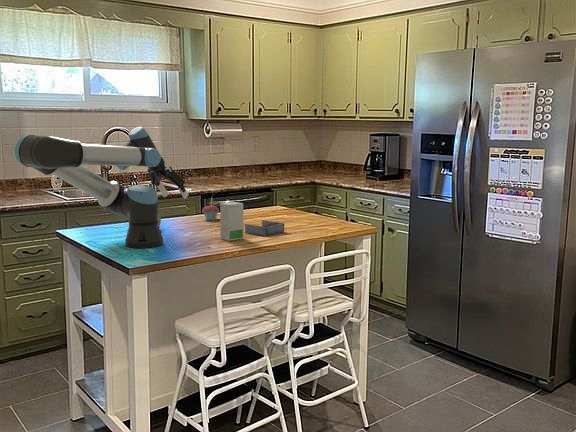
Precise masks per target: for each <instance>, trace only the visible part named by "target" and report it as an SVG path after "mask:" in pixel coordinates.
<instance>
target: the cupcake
mask: <svg viewBox="0 0 576 432" xmlns="http://www.w3.org/2000/svg"><path fill="white" fill-rule="evenodd" d="M219 210H220V209H219V207H217V206H216V205H213V197H211V198H210V205H206V206H204V207H203V208H202V210H201V213H202V214H203V215H204V217H205V220H206V221H216V219H217V216H218V215H219V213H220V211H219Z"/></svg>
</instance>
